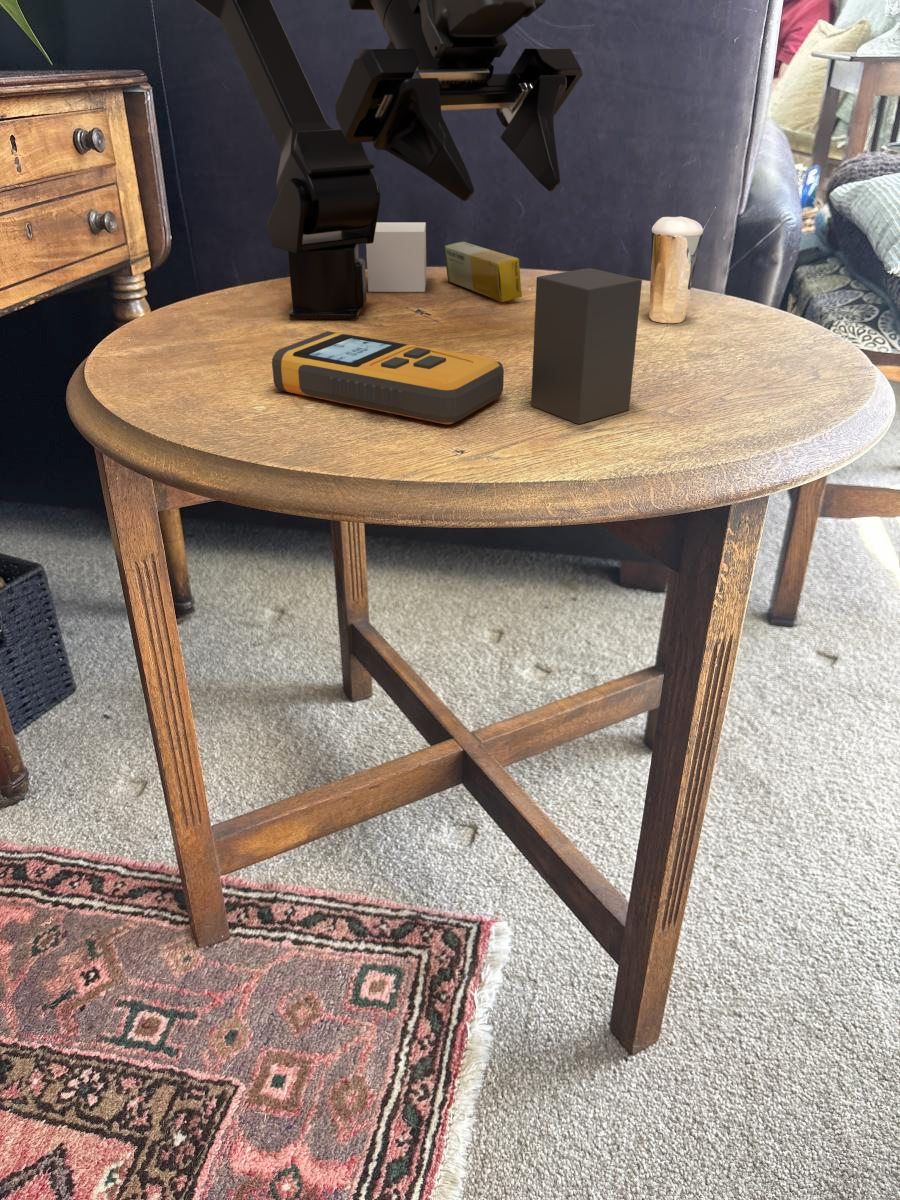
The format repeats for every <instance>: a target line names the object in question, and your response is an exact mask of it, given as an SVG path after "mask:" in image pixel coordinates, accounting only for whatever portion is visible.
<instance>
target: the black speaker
mask: <svg viewBox="0 0 900 1200" xmlns="http://www.w3.org/2000/svg"><path fill="white" fill-rule="evenodd" d="M535 282H536V283H535V284H536V285H535V308H534V327H533V329H534V331H533V351H532V352H533V353H532V372H531V373H532V374H531V394H530V395H531V397H530V398H531V399H530V406H531V407H534V408H536V409H539V410H542V411H543V412H547V413H549V414H551V415H553V416H557V417H559V418H562V419H564V420H566V421H569V422H572V423H574V424H577V425H582V424H585V423H589V422H592V421H595V420H599V419H603V418H605V417H609V416H613V415H615V414H616V415H617V414H619V413H623V412H626V411H629V410H630V405H631V404H630V403H631V393H632V385H633V374H634V365H635V364H634V363H635V355H636V345H637V335H638V334H637V333H638V326H639V325H638V323H639V314H640V304H641V296H642V295H641V293H642V285H643V284H642V283H643V280H642V279H640V278H636V277H631V276H627V275H623V274H618V273H614V272H610V271H605V270H600V269H597V268H593V267H587V268H581V269H575V270H569V271H563V272H558V273H550V274H545V275H540V276H537V277H536V281H535Z"/></svg>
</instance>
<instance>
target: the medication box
mask: <svg viewBox="0 0 900 1200" xmlns="http://www.w3.org/2000/svg"><path fill="white" fill-rule="evenodd" d="M443 252H444V261H445V267H446V276H447V283H451V284H455V285H457V286H459V287H462V288H465V289H467V290H470V291H473V292H475V293H477V294H481V295H483V296H485V297H488V298H490V299H493V300H496V301H498V302H501V303H504V302H508V301H511V300H515V299H519V298H521V297H522V295H523V294H522V284H521V268H520V267H521V266H520V258H518V257H516V256H512V255H508V254H506V253H502V252H499V251H496V250H493V249H489V248H485V247H482V246H479V245H477V244H472V243H469V242H466V241H465V240H464V241H458V242H457V241H455V242H453V243H449V244H446V245H443Z"/></svg>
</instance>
